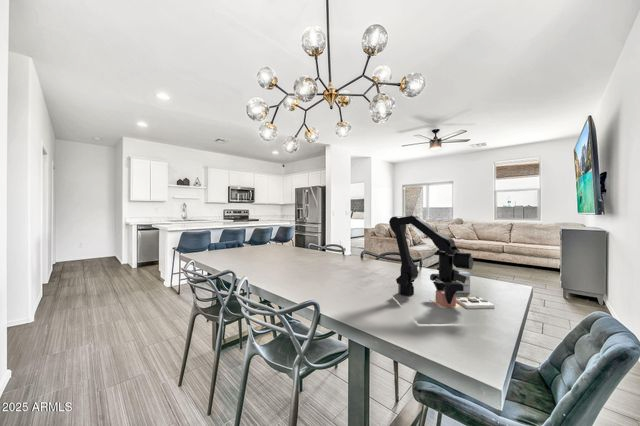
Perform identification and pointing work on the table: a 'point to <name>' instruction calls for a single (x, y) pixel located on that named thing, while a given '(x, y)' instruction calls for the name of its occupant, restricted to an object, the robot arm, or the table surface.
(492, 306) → the panel
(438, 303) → the pad
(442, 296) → the pink block
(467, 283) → the light bulb box
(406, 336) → the table surface
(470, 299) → the dark grey block
